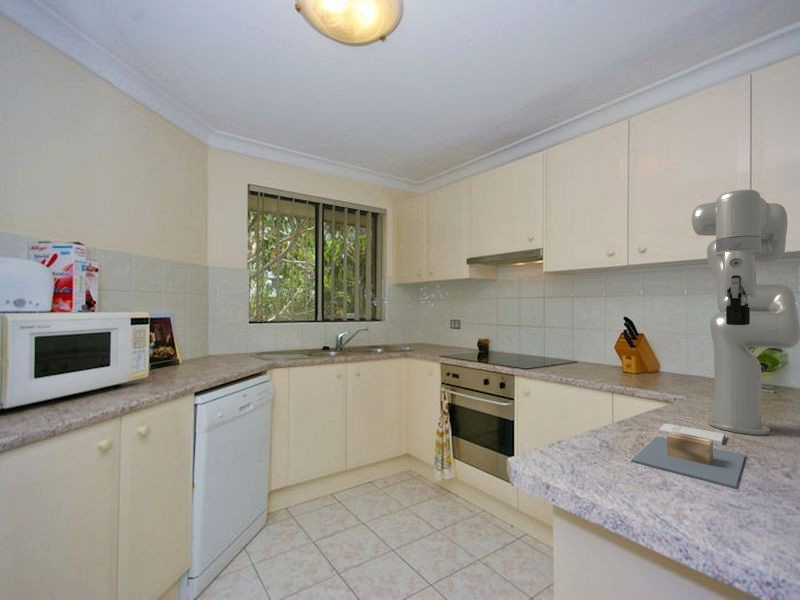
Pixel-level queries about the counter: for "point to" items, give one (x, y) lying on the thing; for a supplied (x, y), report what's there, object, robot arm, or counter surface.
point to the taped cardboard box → (690, 447)
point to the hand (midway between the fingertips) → (738, 324)
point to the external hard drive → (693, 432)
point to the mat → (693, 463)
